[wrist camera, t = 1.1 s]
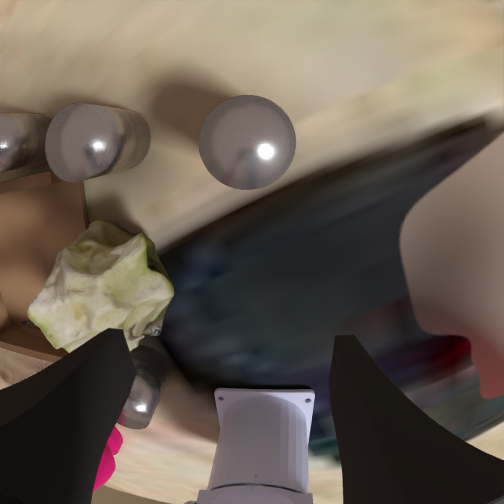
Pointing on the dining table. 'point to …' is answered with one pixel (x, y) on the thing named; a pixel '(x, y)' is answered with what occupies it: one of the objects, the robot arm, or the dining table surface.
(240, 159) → the grey metal cylinder
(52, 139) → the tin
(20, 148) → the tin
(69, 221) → the tray
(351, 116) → the dining table surface
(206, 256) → the dining table surface
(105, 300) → the pale green lumpy ball
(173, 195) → the dining table surface
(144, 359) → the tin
